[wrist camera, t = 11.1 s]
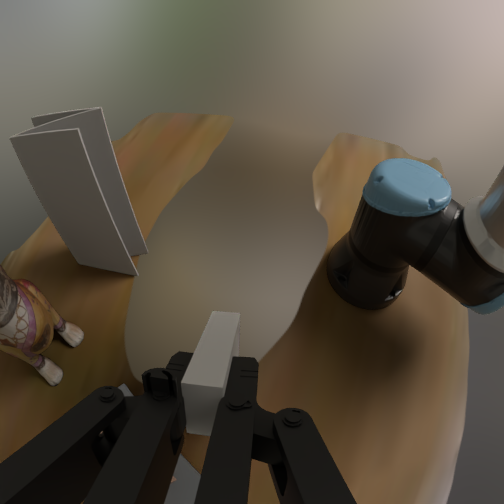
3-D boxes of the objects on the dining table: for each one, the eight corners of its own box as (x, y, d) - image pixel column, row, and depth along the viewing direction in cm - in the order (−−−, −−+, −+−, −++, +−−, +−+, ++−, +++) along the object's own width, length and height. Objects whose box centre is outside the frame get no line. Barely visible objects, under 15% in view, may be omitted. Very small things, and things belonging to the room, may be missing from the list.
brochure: (148, 252, 55) (102, 106, 31) (138, 276, 52) (77, 129, 28) (90, 242, 56) (32, 116, 33) (78, 263, 53) (9, 137, 29)
